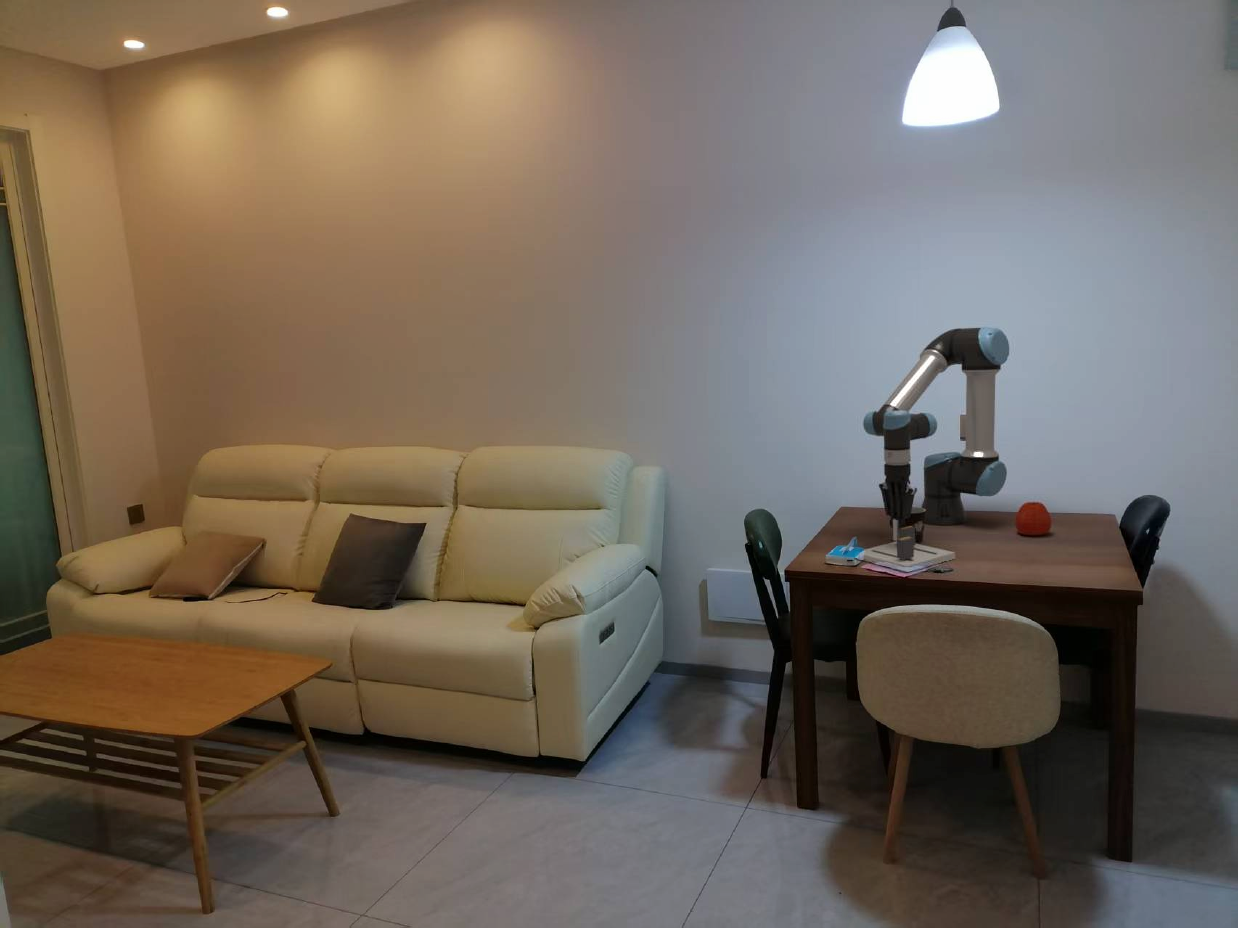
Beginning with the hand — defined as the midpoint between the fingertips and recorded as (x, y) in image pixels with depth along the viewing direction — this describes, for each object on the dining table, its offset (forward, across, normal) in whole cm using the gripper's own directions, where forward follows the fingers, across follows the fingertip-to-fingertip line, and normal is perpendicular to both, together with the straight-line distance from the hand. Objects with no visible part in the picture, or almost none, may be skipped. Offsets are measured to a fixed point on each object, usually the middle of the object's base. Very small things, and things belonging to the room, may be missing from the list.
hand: (898, 539), depth 266 cm
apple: (+4, +14, +44) cm, 47 cm away
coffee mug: (+4, -7, +11) cm, 13 cm away
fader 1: (+1, +3, 0) cm, 4 cm away
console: (+4, +6, -5) cm, 9 cm away
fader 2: (+1, +12, -10) cm, 15 cm away
